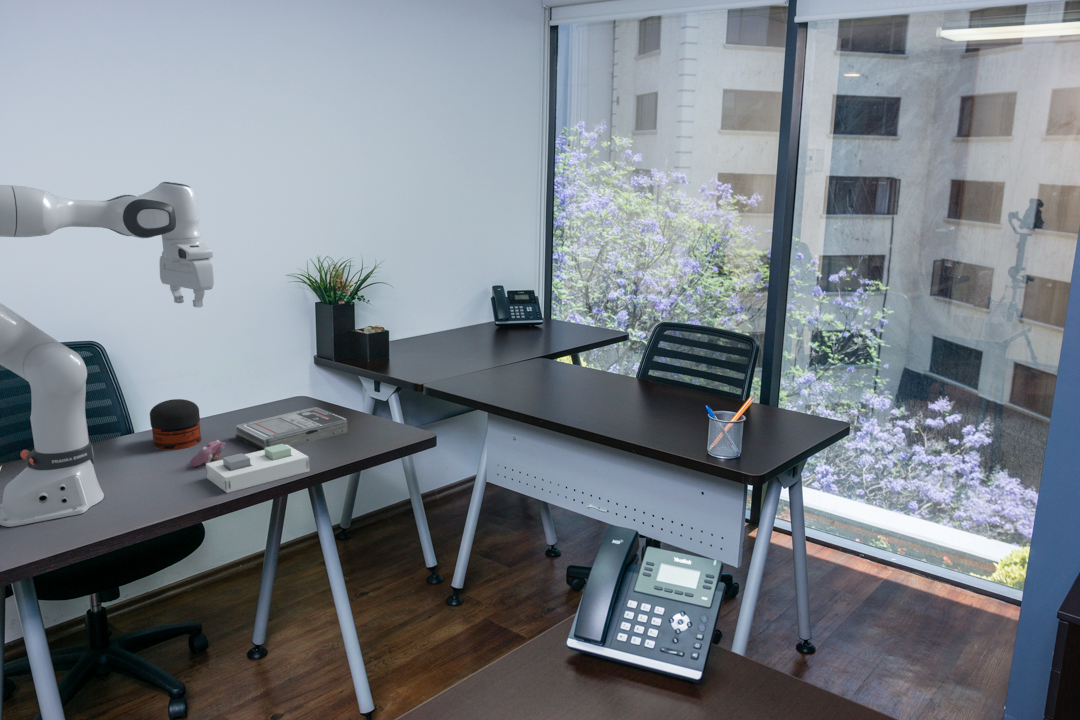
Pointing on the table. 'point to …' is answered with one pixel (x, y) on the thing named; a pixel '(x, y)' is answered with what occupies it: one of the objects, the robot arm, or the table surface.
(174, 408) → the oil filter
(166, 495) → the table surface
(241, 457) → the grey key
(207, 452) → the video game controller
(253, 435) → the hard drive
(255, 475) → the key panel
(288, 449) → the sage key
